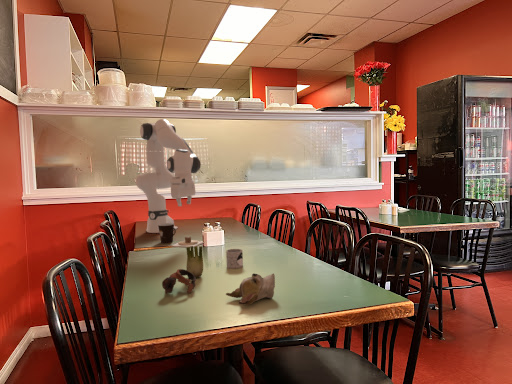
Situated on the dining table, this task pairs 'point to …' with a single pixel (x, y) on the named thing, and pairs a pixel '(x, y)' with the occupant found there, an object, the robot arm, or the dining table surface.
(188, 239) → the wooden lid
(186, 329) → the dining table surface
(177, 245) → the grey mat
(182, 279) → the brown black curved piece
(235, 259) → the mug
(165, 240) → the coffee mug
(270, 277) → the ceramic sculpture
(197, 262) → the fennel bulb
